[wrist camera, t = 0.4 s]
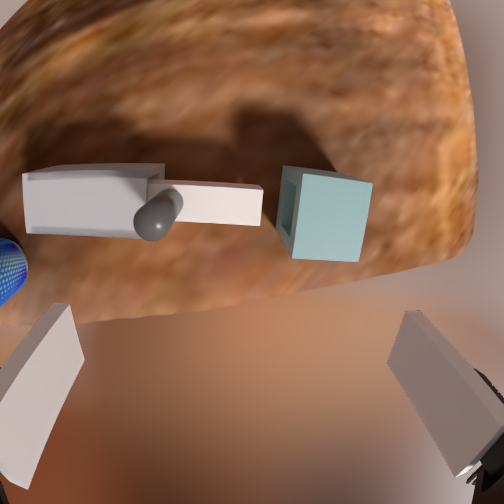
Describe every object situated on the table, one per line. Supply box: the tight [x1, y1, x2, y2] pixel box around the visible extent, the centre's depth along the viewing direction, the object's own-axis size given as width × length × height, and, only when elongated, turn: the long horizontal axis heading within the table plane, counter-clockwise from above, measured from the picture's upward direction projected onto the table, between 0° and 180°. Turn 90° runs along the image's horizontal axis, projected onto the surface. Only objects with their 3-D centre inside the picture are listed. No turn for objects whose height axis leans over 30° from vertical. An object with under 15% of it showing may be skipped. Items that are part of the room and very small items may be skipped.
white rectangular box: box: [22, 163, 165, 239], centre depth 30 cm, size 7×15×9 cm, turn 85°
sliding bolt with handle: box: [133, 179, 263, 241], centre depth 26 cm, size 4×24×11 cm, turn 85°
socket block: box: [276, 165, 373, 262], centre depth 32 cm, size 8×7×10 cm
